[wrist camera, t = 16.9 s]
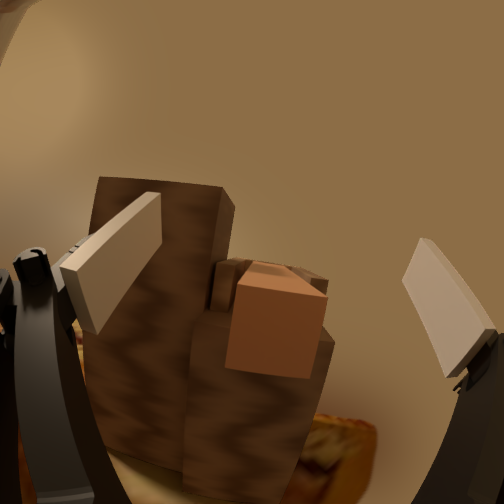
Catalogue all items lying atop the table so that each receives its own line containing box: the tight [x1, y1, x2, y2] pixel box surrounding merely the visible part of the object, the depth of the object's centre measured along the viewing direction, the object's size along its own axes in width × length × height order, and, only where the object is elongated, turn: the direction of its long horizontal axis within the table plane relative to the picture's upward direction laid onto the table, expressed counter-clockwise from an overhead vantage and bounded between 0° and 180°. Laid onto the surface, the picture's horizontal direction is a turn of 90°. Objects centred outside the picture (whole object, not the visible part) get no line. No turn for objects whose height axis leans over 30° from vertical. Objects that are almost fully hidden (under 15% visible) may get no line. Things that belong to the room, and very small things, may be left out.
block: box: [225, 261, 328, 379], centre depth 24 cm, size 4×24×4 cm, turn 178°
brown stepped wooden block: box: [82, 177, 335, 504], centre depth 29 cm, size 22×21×30 cm
